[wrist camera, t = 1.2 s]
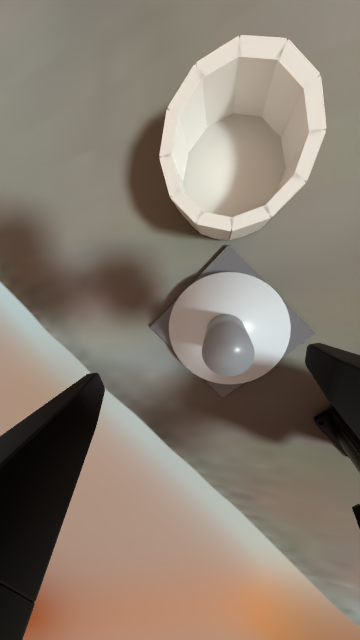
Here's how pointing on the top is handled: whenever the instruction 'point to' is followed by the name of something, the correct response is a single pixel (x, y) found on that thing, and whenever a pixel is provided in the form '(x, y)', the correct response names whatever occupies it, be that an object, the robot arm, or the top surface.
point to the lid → (229, 328)
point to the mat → (234, 263)
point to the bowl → (242, 135)
